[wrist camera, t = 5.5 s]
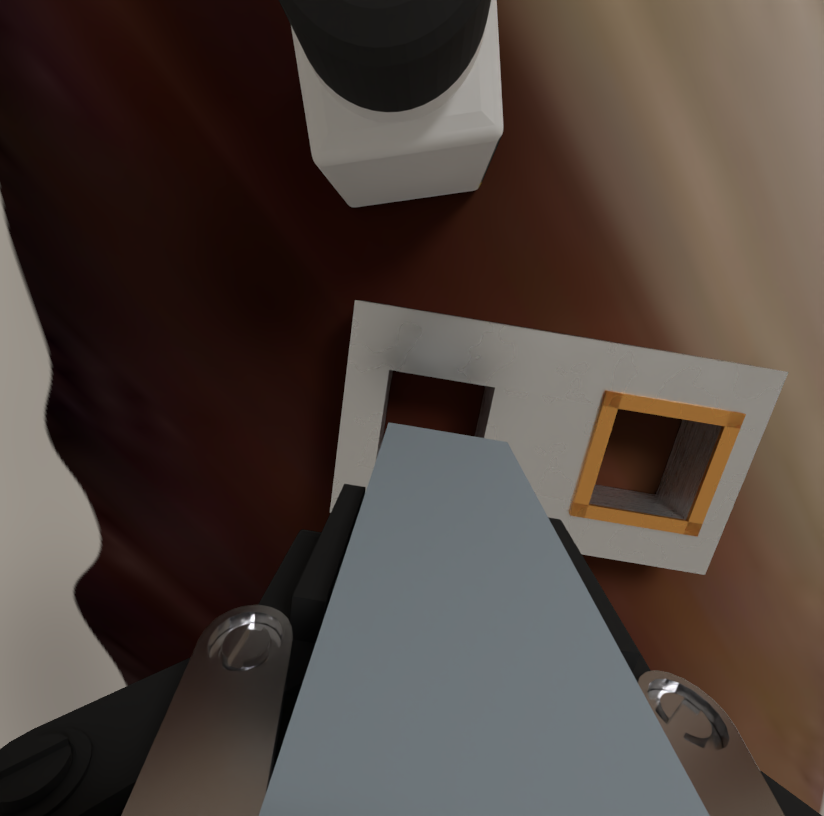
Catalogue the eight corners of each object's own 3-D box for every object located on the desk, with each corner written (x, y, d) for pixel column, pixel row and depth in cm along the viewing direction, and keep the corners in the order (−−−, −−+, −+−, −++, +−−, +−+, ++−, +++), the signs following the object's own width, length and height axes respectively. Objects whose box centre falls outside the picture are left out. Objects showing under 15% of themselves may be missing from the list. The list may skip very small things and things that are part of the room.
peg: (388, 422, 13) (214, 949, 2) (507, 442, 13) (838, 1051, 2) (373, 526, 14) (205, 1203, 4) (482, 545, 14) (639, 1275, 4)
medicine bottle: (480, 191, 21) (545, 49, 9) (349, 210, 21) (254, 97, 10) (469, 31, 19) (532, -391, 8) (326, 55, 20) (179, -306, 8)
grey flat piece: (364, 300, 23) (354, 300, 19) (742, 363, 23) (792, 372, 19) (340, 489, 26) (328, 514, 23) (673, 544, 26) (707, 577, 23)
